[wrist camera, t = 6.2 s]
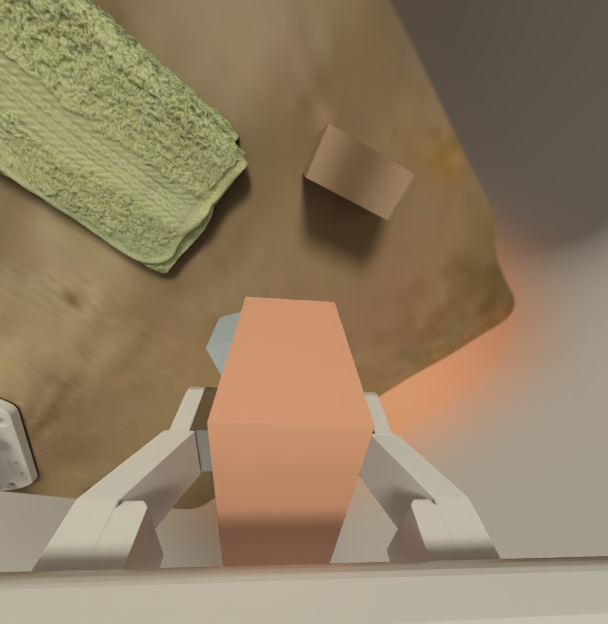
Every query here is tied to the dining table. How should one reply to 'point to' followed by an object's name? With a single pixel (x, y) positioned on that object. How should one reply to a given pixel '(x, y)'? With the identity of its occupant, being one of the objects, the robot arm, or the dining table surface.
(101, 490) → the robot arm
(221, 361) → the brick slate
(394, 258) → the dining table surface
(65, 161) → the washcloth
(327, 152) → the brick walnut
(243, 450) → the brick terracotta
